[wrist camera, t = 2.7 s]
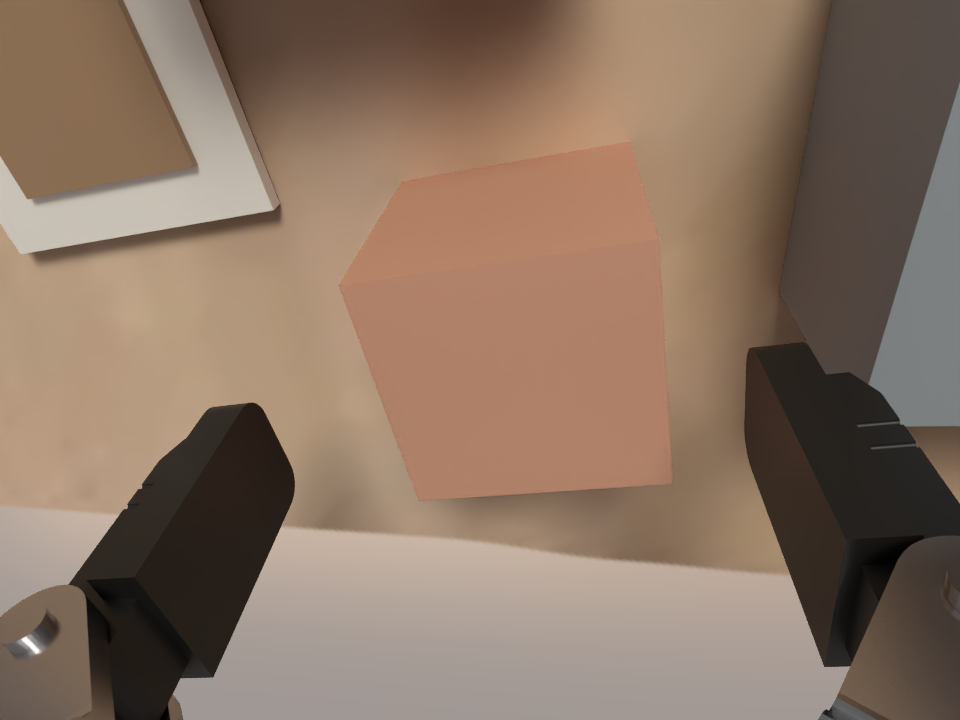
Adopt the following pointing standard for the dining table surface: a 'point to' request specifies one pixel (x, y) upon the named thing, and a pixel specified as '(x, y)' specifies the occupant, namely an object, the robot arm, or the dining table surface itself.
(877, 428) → the robot arm
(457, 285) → the terracotta cube
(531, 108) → the dining table surface
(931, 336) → the slate block
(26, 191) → the white square frame
